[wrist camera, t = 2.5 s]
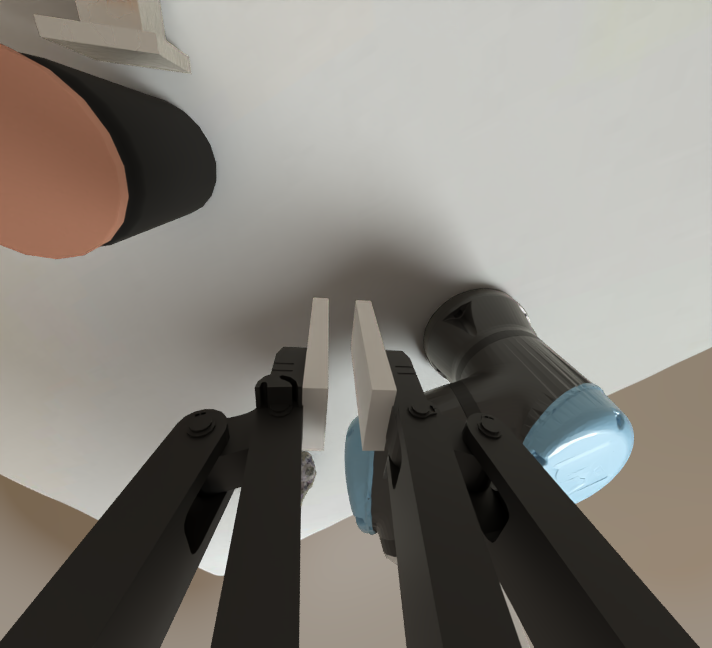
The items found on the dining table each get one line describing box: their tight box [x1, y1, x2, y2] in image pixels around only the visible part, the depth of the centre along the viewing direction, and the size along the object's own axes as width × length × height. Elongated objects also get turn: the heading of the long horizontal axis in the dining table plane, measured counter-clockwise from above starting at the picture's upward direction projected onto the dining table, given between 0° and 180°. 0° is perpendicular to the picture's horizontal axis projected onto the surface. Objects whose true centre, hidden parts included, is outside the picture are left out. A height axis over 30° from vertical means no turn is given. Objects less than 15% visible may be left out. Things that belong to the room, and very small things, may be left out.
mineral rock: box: [301, 451, 316, 506], centre depth 54 cm, size 13×11×10 cm
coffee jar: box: [0, 44, 216, 259], centre depth 24 cm, size 11×11×18 cm
